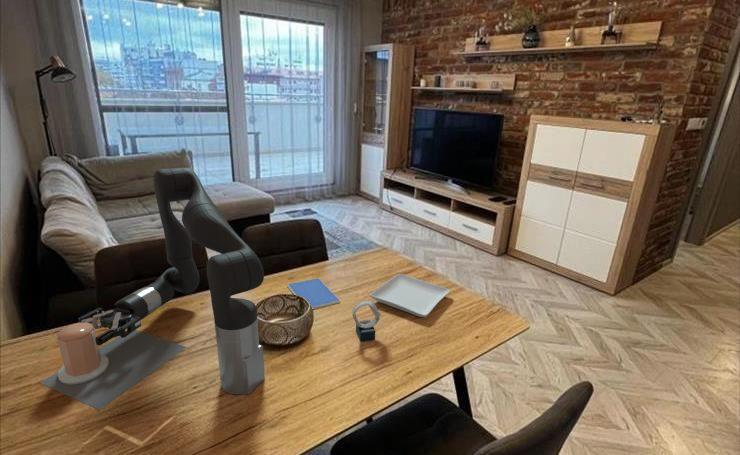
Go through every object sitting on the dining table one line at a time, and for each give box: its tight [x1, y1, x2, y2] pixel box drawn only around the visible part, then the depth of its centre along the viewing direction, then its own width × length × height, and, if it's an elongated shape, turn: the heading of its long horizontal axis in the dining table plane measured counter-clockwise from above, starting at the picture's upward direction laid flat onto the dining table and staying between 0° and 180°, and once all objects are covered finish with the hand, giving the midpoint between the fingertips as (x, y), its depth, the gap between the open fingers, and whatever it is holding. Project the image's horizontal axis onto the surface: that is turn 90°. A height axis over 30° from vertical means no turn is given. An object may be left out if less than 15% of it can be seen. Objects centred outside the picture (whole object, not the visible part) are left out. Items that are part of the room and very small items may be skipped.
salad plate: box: [369, 273, 451, 318], centre depth 135 cm, size 21×21×3 cm
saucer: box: [57, 354, 109, 385], centre depth 95 cm, size 10×10×1 cm
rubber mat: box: [39, 329, 188, 411], centre depth 98 cm, size 20×24×1 cm
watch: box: [352, 299, 381, 343], centre depth 113 cm, size 6×8×11 cm
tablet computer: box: [286, 277, 341, 310], centre depth 137 cm, size 19×13×1 cm, turn 30°
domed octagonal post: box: [56, 322, 101, 377], centre depth 94 cm, size 7×7×10 cm
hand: (83, 338), depth 94 cm, fingers open, 8 cm apart
